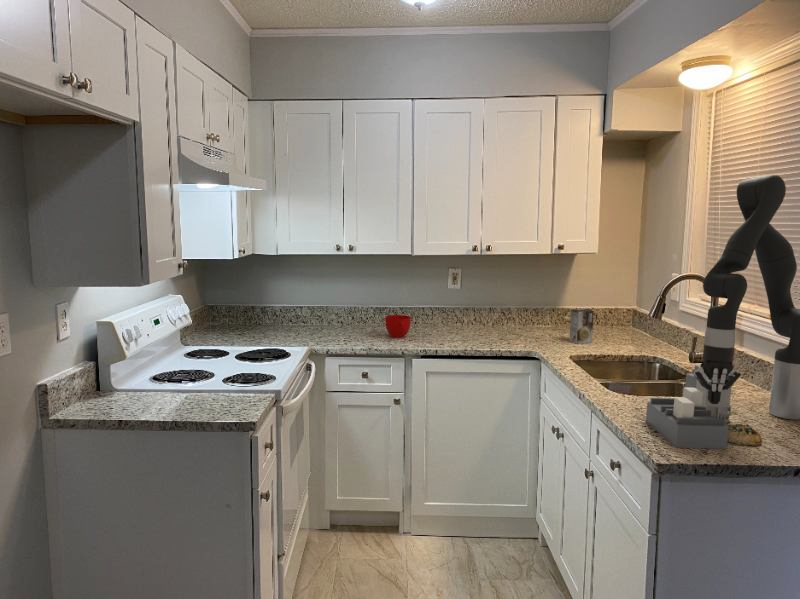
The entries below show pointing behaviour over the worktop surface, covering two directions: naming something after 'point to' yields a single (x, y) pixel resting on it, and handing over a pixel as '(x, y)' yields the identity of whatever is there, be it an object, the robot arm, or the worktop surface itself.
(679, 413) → the breaker
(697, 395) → the block
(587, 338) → the coffee box
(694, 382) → the circuit breaker
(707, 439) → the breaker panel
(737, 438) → the bread roll
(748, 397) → the worktop surface
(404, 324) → the ceramic cup
